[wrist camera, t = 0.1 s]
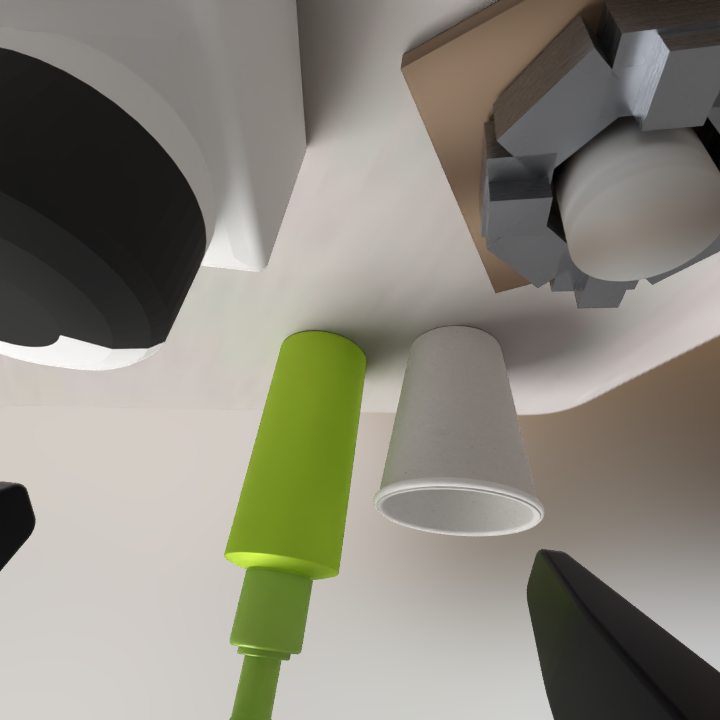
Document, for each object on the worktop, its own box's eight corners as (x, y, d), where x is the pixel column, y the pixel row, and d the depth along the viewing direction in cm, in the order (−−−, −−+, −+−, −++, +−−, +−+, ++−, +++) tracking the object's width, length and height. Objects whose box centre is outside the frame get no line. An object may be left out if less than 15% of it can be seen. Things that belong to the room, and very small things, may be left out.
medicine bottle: (35, -123, 12) (-503, 75, 5) (292, -103, 12) (73, 131, 5) (136, 135, 18) (-55, 384, 11) (308, 152, 18) (220, 417, 11)
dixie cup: (547, 320, 24) (577, 502, 18) (499, 395, 31) (510, 544, 25) (397, 301, 24) (380, 476, 19) (382, 380, 31) (367, 524, 26)
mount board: (402, 55, 14) (389, 143, 11) (1152, -369, 8) (1612, -431, 5) (494, 278, 22) (501, 367, 19) (913, 162, 15) (1028, 271, 12)
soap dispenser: (375, 329, 26) (319, 776, 15) (360, 386, 32) (312, 741, 21) (279, 312, 26) (150, 753, 15) (281, 373, 32) (189, 725, 21)
